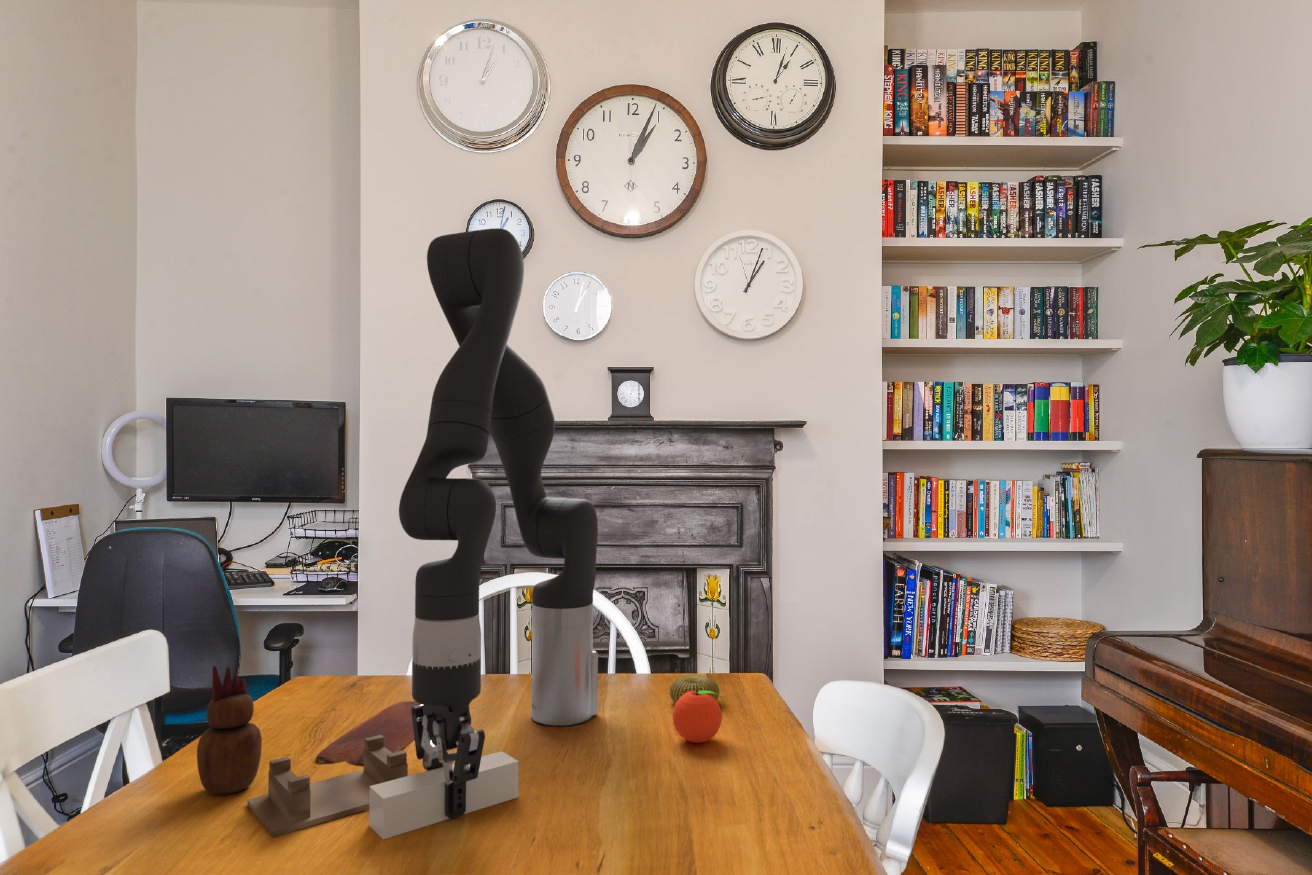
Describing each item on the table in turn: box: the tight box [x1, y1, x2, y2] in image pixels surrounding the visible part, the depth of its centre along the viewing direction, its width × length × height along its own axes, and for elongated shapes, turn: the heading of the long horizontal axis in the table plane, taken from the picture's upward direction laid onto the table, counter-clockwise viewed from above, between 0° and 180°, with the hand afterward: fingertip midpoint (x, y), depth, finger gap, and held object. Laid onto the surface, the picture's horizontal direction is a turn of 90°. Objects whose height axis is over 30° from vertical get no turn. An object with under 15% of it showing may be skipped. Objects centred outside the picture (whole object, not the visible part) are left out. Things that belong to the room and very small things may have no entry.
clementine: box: [672, 690, 727, 744], centre depth 111 cm, size 8×7×7 cm
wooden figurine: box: [196, 665, 263, 795], centre depth 95 cm, size 7×6×15 cm
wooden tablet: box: [315, 700, 422, 767], centre depth 116 cm, size 27×10×2 cm, turn 175°
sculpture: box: [669, 674, 720, 705], centre depth 128 cm, size 8×4×8 cm
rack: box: [246, 735, 411, 838], centre depth 92 cm, size 17×10×5 cm, turn 131°
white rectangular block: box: [368, 751, 519, 840], centre depth 89 cm, size 16×4×4 cm, turn 130°
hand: (445, 807), depth 89 cm, fingers closed on white rectangular block, 4 cm apart
